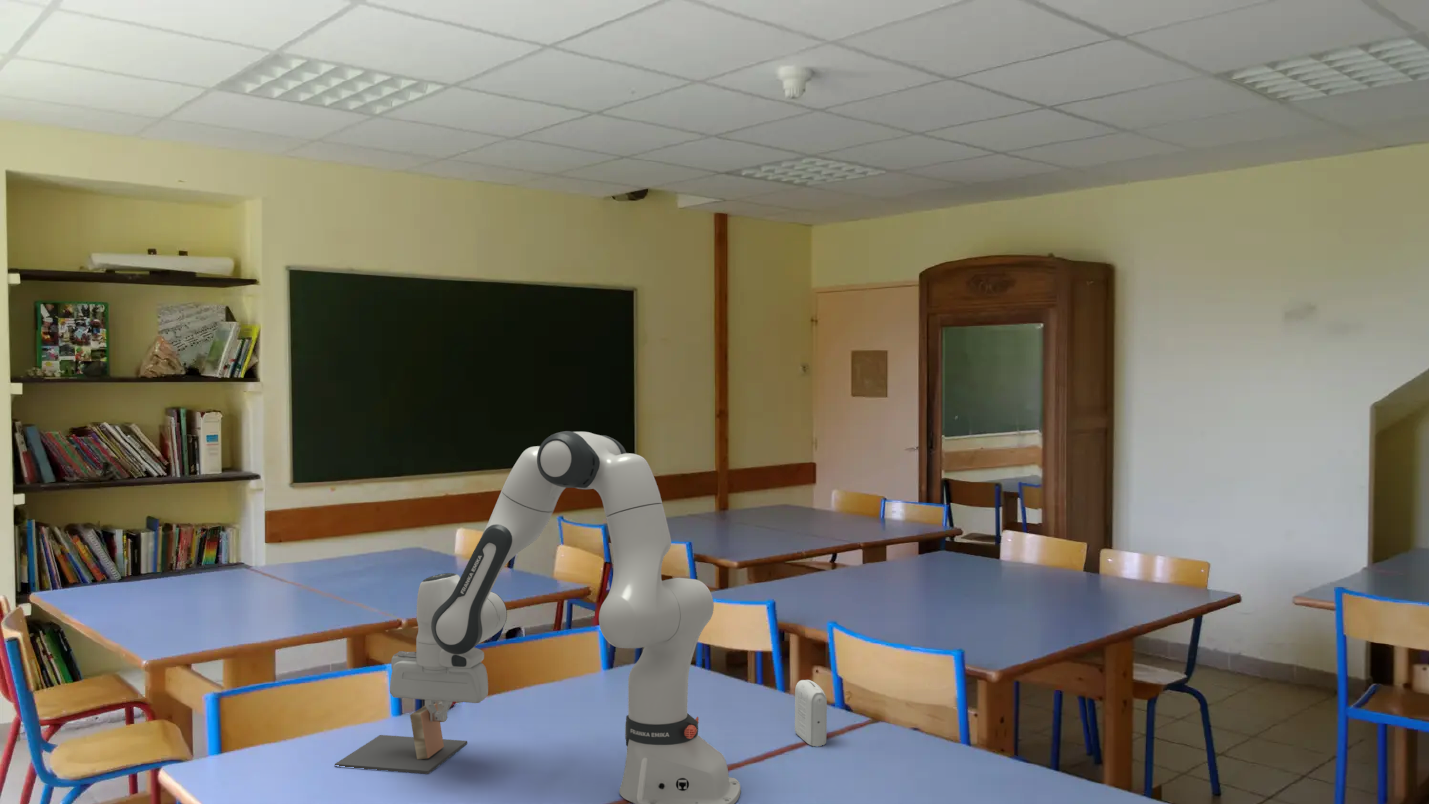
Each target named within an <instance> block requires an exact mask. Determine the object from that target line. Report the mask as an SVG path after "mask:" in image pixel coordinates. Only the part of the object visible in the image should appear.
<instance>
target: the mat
mask: <svg viewBox="0 0 1429 804" xmlns="http://www.w3.org/2000/svg"><path fill="white" fill-rule="evenodd" d="M443 744H444V747H443V748H441V749H440V750H439V751H437V752H436V753H435V754H433V755H432V756H431V757H429V758H426V759H417V756H416V749H415V743H414V737H413V736H402V735H400V736H399V735H388V734H387V735H386V734H379V735H378V736H376V737H374V738H373V739H372V740H370V741H368V742H366V743H365V744H363V745H362V746H360V747H359V748H357V749H355V750H354V751H352V752H351V753H349V754H348V755H346V756H345V757H344V758H342V759H341V760H339V761H336V763H334V766H335V765H339V766H345V767H354V768H364V769H363V770H368V769H377V770H376V771H381V770H388V771H387V772H394V771H398V773H407V772H409V773H410V774H420V775H421V774H423V775H429V774H430V773H432V772H433V771H434V770H436V769H437V768H439V767H440V766H441V765H442V764H443V763H445V762H446V761H447V760H448V759H450V758H451V757H452V756H454V755H455V754H456V753H458V752H459V751H460V750H461V749H463V748H464V747H466V745H468V740H459V739H446V738H445V739H444V738H443ZM354 768H353V769H354Z"/></svg>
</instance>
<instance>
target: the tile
mask: <svg viewBox="0 0 1429 804" xmlns="http://www.w3.org/2000/svg"><path fill="white" fill-rule="evenodd" d="M434 705H435V708H436V710H437V711H438V706H437V704H434ZM409 718H410V723H411V729H412V737H414V743H415V749H416V756H417V759H426V758H429V757H431V756H432V755H433V754H435V753H436V752H437V751H439V750H440V749H441V748H443V747H444V744H443V739H444V738H443V732H442V726H441V725H442V724H441V722H434V721H433V722H432V721H430V713H429V711H428V710H427V708H426V706H423V707H422V706H421V707H420V708H419V709H417V710H415V711H414V712H413V713H410V715H409Z"/></svg>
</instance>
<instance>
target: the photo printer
mask: <svg viewBox="0 0 1429 804" xmlns="http://www.w3.org/2000/svg"><path fill="white" fill-rule="evenodd" d="M794 689H795V690H794V733H795V734H796V735H797V736H798V737H800V739H801V740H803V741H804V742H805V743H806V744H808V745H809V746H812V747H814V746H819V747H822V746H821V745H823V746H825V744H827V732H828V730H827V720H828V719H827V718H828V716H827V714H828V712H827V710H828V706H827V705H828V703H827V702H828V701H827V700H828V698H827V696H826V694H825V691H824V690H823V689H822V687H821V686H820V685H819V684H817V683H816V682H814V681H812V680H810V679H801V680H799V681H798V682H796V685H795V688H794Z"/></svg>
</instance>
